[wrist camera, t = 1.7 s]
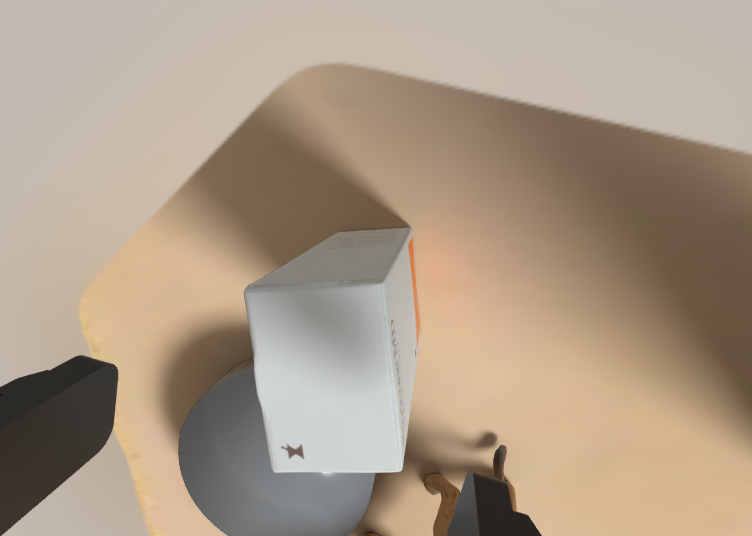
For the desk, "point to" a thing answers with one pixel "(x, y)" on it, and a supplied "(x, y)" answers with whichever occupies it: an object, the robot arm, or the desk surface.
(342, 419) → the skincare box
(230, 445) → the grey rounded flat disc
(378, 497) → the desk surface
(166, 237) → the desk surface
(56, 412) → the robot arm
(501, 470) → the lion figurine
